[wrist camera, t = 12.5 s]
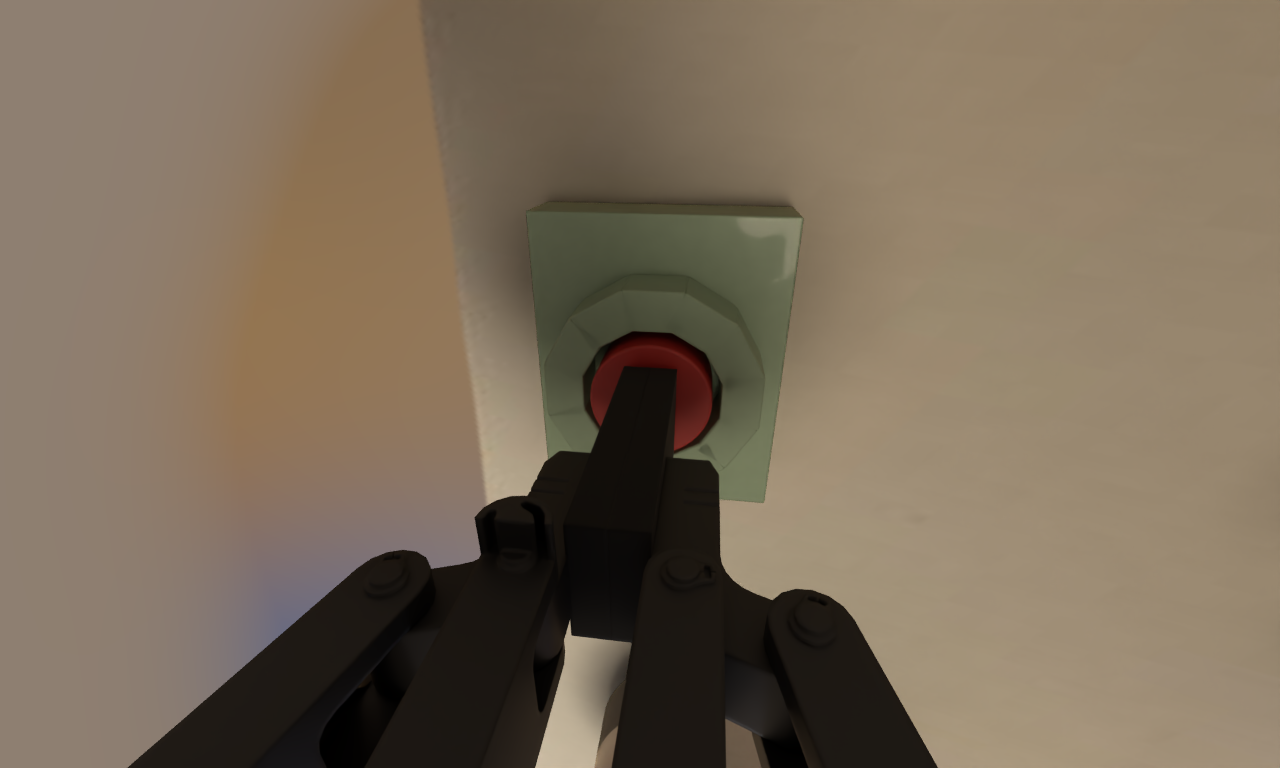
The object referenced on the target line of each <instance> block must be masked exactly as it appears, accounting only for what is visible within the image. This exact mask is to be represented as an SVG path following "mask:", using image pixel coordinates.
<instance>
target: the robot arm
mask: <svg viewBox="0 0 1280 768" xmlns="http://www.w3.org/2000/svg"><path fill="white" fill-rule="evenodd" d="M676 386H677V369H667V368H649V367H632V366H624V367H623V370H622V372H621V375H620V378H619V380H618V383H617V385H616V388H615V391H614V393H613V396H612V398H611V401H610V404H609V406H608V409H607V411H606V414H605V417H604V419H603V422H602V424H601V427H600V430H599V432H598V435H597V437H596V440H595V443H594V445H593V448H592V450H591V453H586V452H573V451H558V452H557V453H556V454H555V455H553V456H552V457H551V458H550V459H548V460H547V461H546V462H545V463H544V465H543V467H542V469H541V471H540V472H539V474H538V476H537V480H535V482H534V484H533V486H532V488H531V492H529V494H528V496H511V497H507V498H503V499H500V500H496V501H495V502H493V503H491V504H489V505H488V506H486V507H484V508H483V509H482V510H481V511H480V512H479V513H478V514H477V516H476V517H475V522H476V528H477V533H478V539H479V545H480V551H481V556H480V557H479V559H478V560H475V561H473V562H469V563H465V564H460V565H454V566H447V567H441V568H434V569H431V567H430V565H429V563H428V560H427V558H426V557H424V556H422V555H421V554H419V553H418V552H415V551H407V550H399V551H393V552H387V553H384V554H382V555H379V556H377V557H374V558H372V559H370V560H369V561H367V562H366V563H364V564H363V565H362V566H360V567H358V568H357V569H356V570H355V571H354V572H352V573H351V574H350V575H349V576H348V577H347V578H346V579H345V580H343V581H342V582H341V583H340V584H339V585H337V586H336V587H335V588H334V589H333V590H332V591H331V592H329V593H328V594H327V595H326V596H325V597H324V598H323V599H321V600H320V601H319V602H318V603H317V604H316V605H315V606H313V607H312V608H311V609H310V610H309V611H308V612H306V613H305V614H304V615H303V616H302V617H301V618H299V619H298V620H297V621H296V622H295V623H294V624H293V625H291V626H290V627H289V628H288V629H287V630H286V631H284V632H283V633H282V634H281V635H280V636H279V637H278V638H276V639H275V640H274V641H273V642H272V643H271V644H270V645H268V646H267V647H266V648H265V649H264V650H263V651H262V652H260V653H259V654H258V655H257V656H256V657H255V658H253V659H252V660H251V661H250V662H249V663H248V664H246V665H245V666H244V667H243V668H242V669H241V670H240V671H238V672H237V673H236V674H235V675H234V676H233V677H231V678H230V679H229V680H228V681H227V682H226V683H225V684H224V685H222V686H221V687H220V688H219V689H218V690H216V691H215V692H214V693H213V694H212V695H211V696H210V697H208V698H207V699H206V700H205V701H204V702H203V703H201V704H200V705H199V706H198V707H197V708H196V709H195V710H194V711H192V712H191V713H190V714H189V715H188V716H187V717H185V718H184V719H183V720H182V721H181V722H180V723H178V724H177V725H176V726H175V727H174V728H173V729H172V730H170V731H169V732H168V733H167V734H166V735H165V736H164V737H162V738H161V739H160V740H159V741H158V742H157V743H155V744H154V745H153V746H152V747H151V748H150V749H148V750H147V751H146V752H145V753H144V754H143V755H142V756H140V757H139V758H138V759H137V760H136V761H135V762H134V763H132V764H131V765H130V766H129V767H128V768H535V766H536V762H537V759H538V755H539V752H540V748H541V744H542V741H543V737H544V734H545V730H546V727H547V723H548V719H549V716H550V712H551V709H552V705H553V702H554V698H555V694H556V691H557V687H558V684H559V680H560V676H561V673H562V669H563V666H564V658H565V646H564V638H565V635H566V631H567V628H568V624H569V621H571V634H572V636H580V637H589V638H597V639H605V640H614V641H622V642H631V643H632V645H631V652H630V658H629V664H628V670H627V676H626V682H625V688H624V694H623V700H622V706H621V712H620V718H619V724H618V731H617V737H616V743H615V749H614V755H613V761H612V767H611V768H726V723H725V719H727V720H729V721H731V722H733V723H735V724H737V725H739V726H741V727H743V728H745V729H747V730H749V731H751V732H752V737H753V740H754V744H755V747H756V751H757V754H758V758H759V761H760V765H761V768H938V767H937V765H936V763H935V762H934V760H933V758H932V756H931V755H930V753H929V751H928V749H927V748H926V746H925V744H924V742H923V740H922V739H921V737H920V735H919V733H918V732H917V730H916V728H915V726H914V725H913V723H912V721H911V719H910V717H909V716H908V714H907V712H906V710H905V709H904V707H903V705H902V703H901V702H900V700H899V698H898V696H897V694H896V693H895V691H894V689H893V687H892V686H891V684H890V682H889V680H888V679H887V677H886V675H885V673H884V672H883V670H882V668H881V666H880V664H879V663H878V661H877V659H876V657H875V656H874V654H873V652H872V650H871V649H870V647H869V645H868V643H867V641H866V640H865V638H864V636H863V634H862V633H861V631H860V629H859V627H858V626H857V624H856V622H855V620H854V619H853V618H852V616H851V615H850V614H849V613H848V612H847V610H846V609H845V608H844V607H843V606H842V605H841V604H839V603H838V602H836V601H835V600H833V599H832V598H831V597H829V596H827V595H824V594H821V593H818V592H816V591H813V590H803V589H794V590H790V591H787V592H783V593H781V594H780V595H778V596H777V597H776V598H775V599H774V600H770V599H768V598H765V597H762V596H760V595H757V594H754V593H752V592H750V591H748V590H746V589H744V588H742V587H741V586H740V585H738V584H737V583H736V582H734V581H733V580H732V579H731V577H730V576H729V575H728V574H727V573H726V571H725V569H724V567H723V565H722V562H721V557H720V507H719V474H718V472H717V471H716V469H715V468H714V466H713V465H712V463H711V462H710V461H709V460H696V459H683V458H673V455H674V436H675V411H676Z"/></svg>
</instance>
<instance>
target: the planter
mask: <svg viewBox="0 0 1280 768" xmlns="http://www.w3.org/2000/svg"><path fill="white" fill-rule="evenodd" d="M625 682H626V680H625V681H624V682H622V683H621V684H620V685H619V686H618V688H617V689H616V690H615V691H614V693H613V694H612V696H611V697H610V699H609V701H608V703H607V706H606V710H605V714H604V719H603V725H602V730H601V735H600V741H599V746H598V751H597V757H596V762H595V767H594V768H611V767H612V761H613V755H614V749H615V743H616V737H617V731H618V724H619V718H620V712H621V706H622V700H623V694H624V688H625ZM725 723H726V768H761V765H760V761H759V758H758V754H757V751H756V747H755V744H754V740H753V737H752V732H751V731H749V730H747V729H745V728H743V727H741V726H739V725H737V724H735V723H733V722H731V721H729V720H727V719H725Z"/></svg>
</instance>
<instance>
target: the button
mask: <svg viewBox="0 0 1280 768" xmlns="http://www.w3.org/2000/svg"><path fill="white" fill-rule="evenodd" d="M624 366H632V367H649V368H667V369H677V386H676V411H675V436H674V450H677V449H679V448H681V447H684V446H685V445H687V444H689V443H690V442H692V441H693V440H694V439H695V438H696V437H697V436H698V435H699V434H700V433H701V432H702V431H703V429H704V428H705V426H706V424H707V422H708V420H709V418H710V414H711V410H712V370H711V366H710V362H709V360H708V358H707V356H706V354H705V353H704V352H702V351H701V350H699V349H698V348H696V347H694V346H693V345H691V344H689V343H688V342H686V341H684V340H683V339H681V338H679V337H678V336H676V335H674V334H673V333H660V332H639V331H632V332H630V333H628V334H626V335H624V336H622V337H620V338H618V339H616V340H615V341H614V342H613V343H612V344H611V345H610V347H609V348H608V350H607V351H606V353H605V355H604V357H603V359H602V361H601V363H600V365H599V368H598V370H597V372H596V374H595V376H594V378H593V381H592V385H591V390H590V400H591V406H592V410H593V413H594V415H595V418H596V420H597V422H598V423H599V425H600V426H601V424H602V422H603V419H604V417H605V414H606V411H607V409H608V406H609V404H610V401H611V398H612V396H613V393H614V391H615V388H616V385H617V383H618V380H619V378H620V375H621V372H622V370H623V367H624Z"/></svg>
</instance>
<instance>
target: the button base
mask: <svg viewBox="0 0 1280 768" xmlns="http://www.w3.org/2000/svg"><path fill="white" fill-rule="evenodd" d="M526 218H527V229H528V241H529V252H530V263H531V274H532V285H533V296H534V307H535V318H536V330H537V341H538V352H539V363H540V374H541V385H542V396H543V407H544V419H545V430H546V441H547V452H548V459H550V458H551V457H552V456H553V455H555V454H556V453H557V452H558V451H573V452H586V453H591V450H592V448H593V445H594V443H595V440H596V437H597V435H598V432H599V430H600V427H601V426H600V425H599V423H598V422H597V420H596V418H595V415H594V413H593V410H592V406H591V400H590V390H591V385H592V381H593V378H594V376H595V374H596V372H597V370H598V368H599V365H600V363H601V361H602V359H603V357H604V355H605V353H606V351H607V350H608V348H609V347H610V345H611V344H612V343H613V342H614V341H615V340H616V339H618V338H620V337H622V336H624V335H626V334H628V333H630V332H632V331H639V332H660V333H673V334H674V335H676V336H678V337H679V338H681V339H683V340H684V341H686V342H688V343H689V344H691V345H693V346H694V347H696V348H698V349H699V350H701V351H702V352H704V353H705V354H706V356H707V358H708V360H709V362H710V366H711V370H712V410H711V414H710V418H709V420H708V422H707V424H706V426H705V428H704V429H703V431H702V432H701V433H700V434H699V435H698V436H697V437H696V438H695V439H694V440H693V441H692V442H690V443H689V444H687V445H685V446H684V447H681V448H679V449H677V450H674V455H673V458H683V459H696V460H709V461H710V462H711V463H712V465H713V466H714V468H715V469H716V471H717V472H718V474H719V499H723V500H735V501H746V502H758V503H764V500H765V493H766V486H767V479H768V472H769V464H770V457H771V450H772V443H773V436H774V429H775V421H776V414H777V407H778V400H779V393H780V386H781V378H782V371H783V364H784V357H785V350H786V343H787V335H788V328H789V321H790V314H791V307H792V300H793V292H794V285H795V278H796V271H797V264H798V257H799V249H800V242H801V235H802V228H803V221H804V218H803V217H802V216H801V215H800V214H799V213H798V212H797V211H796V210H795V209H794V208H793V207H778V206H730V205H683V204H635V203H588V202H546V203H544V204H541V205H539V206H537V207H534V208H532V209H530V210H528V211H526Z"/></svg>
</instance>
